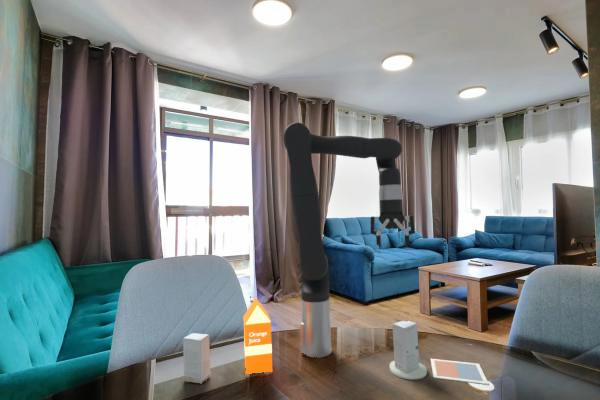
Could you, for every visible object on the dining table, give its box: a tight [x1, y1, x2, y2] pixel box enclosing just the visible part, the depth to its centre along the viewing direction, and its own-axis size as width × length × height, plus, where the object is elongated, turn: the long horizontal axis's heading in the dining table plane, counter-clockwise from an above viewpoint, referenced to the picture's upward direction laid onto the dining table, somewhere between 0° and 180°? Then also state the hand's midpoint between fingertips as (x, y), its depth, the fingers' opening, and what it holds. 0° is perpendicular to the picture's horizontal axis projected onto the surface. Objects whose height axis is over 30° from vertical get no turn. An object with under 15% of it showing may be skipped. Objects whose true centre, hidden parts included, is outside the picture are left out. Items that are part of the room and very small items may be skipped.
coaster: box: [389, 360, 428, 381], centre depth 88 cm, size 10×10×1 cm
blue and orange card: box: [430, 358, 489, 386], centre depth 86 cm, size 13×11×1 cm
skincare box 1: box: [182, 332, 211, 381], centre depth 87 cm, size 6×4×12 cm
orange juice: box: [243, 296, 273, 375], centre depth 92 cm, size 8×9×20 cm
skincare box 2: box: [392, 319, 420, 373], centre depth 88 cm, size 6×4×12 cm
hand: (393, 246), depth 104 cm, fingers open, 8 cm apart
